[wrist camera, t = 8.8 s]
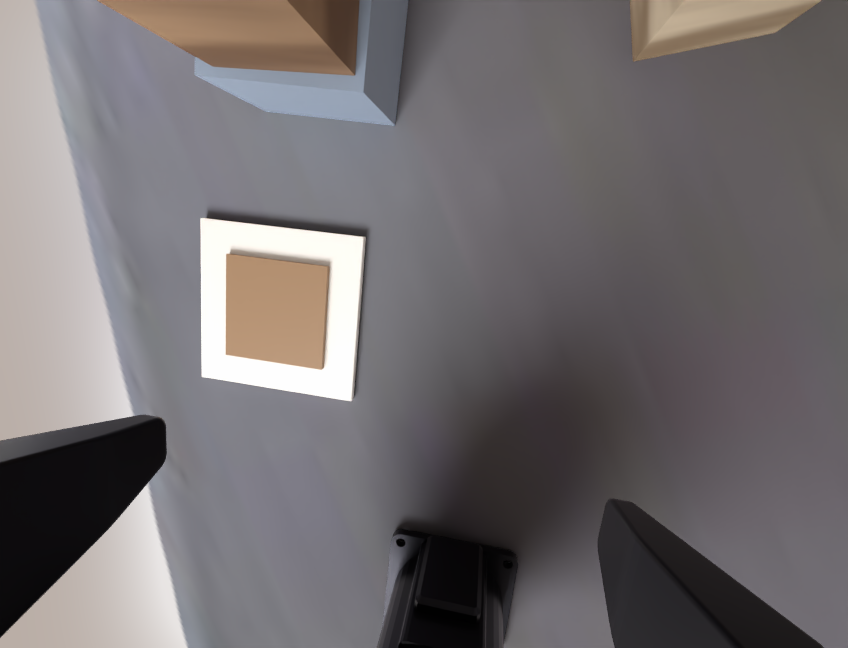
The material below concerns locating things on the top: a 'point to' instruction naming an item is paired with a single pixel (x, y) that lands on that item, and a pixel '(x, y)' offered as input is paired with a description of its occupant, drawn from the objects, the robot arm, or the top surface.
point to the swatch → (281, 307)
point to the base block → (332, 75)
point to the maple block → (705, 22)
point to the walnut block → (255, 31)
